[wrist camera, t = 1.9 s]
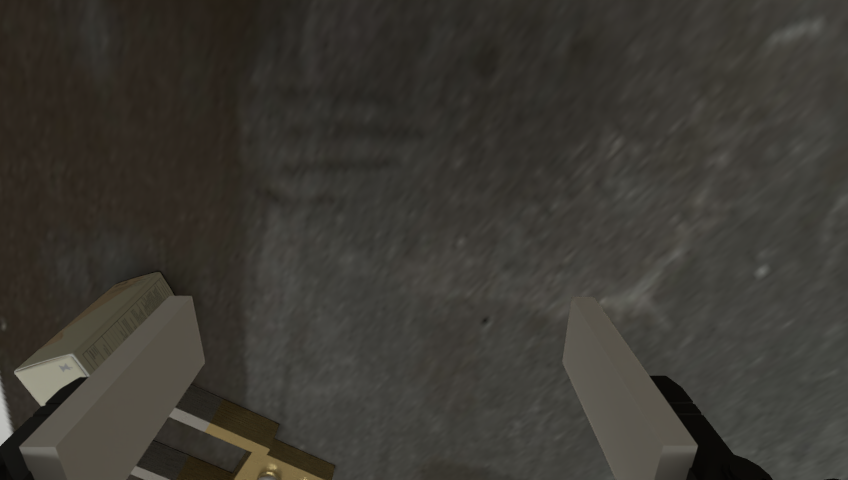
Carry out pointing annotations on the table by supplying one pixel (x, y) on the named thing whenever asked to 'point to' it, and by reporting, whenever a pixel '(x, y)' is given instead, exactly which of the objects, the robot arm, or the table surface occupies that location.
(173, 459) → the link
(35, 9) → the table surface
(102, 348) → the box
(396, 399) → the table surface
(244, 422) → the link
